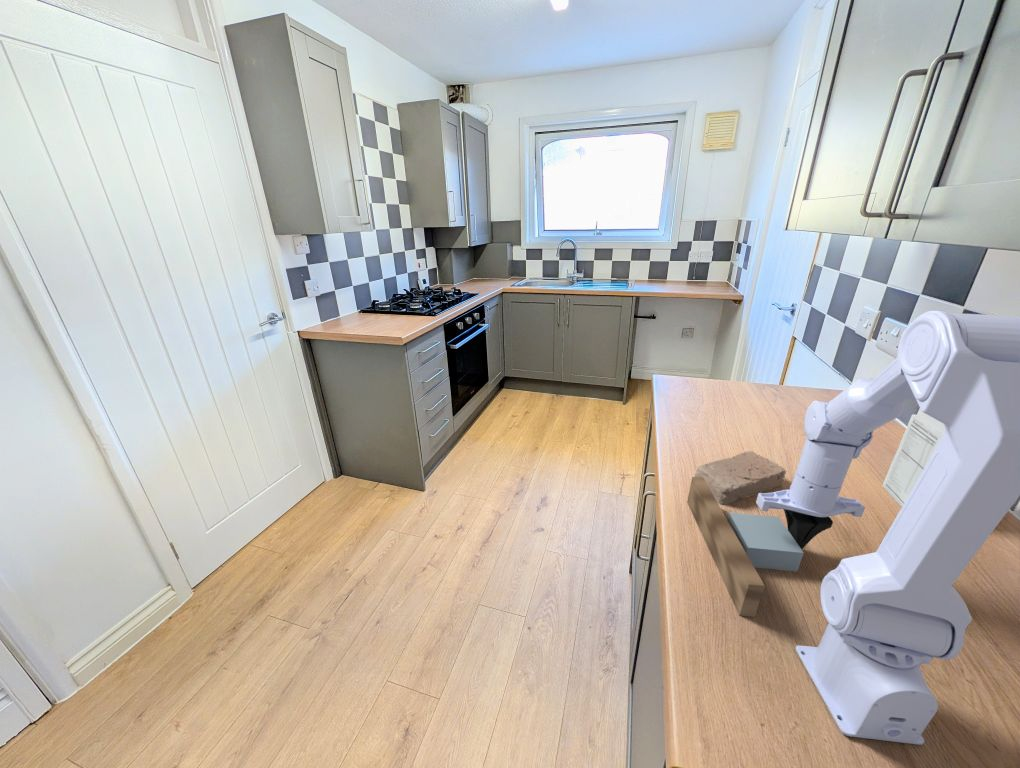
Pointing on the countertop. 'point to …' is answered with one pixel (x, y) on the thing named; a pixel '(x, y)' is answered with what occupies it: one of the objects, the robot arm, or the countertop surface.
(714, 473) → the brick
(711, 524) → the fence board
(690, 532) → the countertop surface
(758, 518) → the grey block
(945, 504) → the robot arm
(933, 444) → the supplement box
